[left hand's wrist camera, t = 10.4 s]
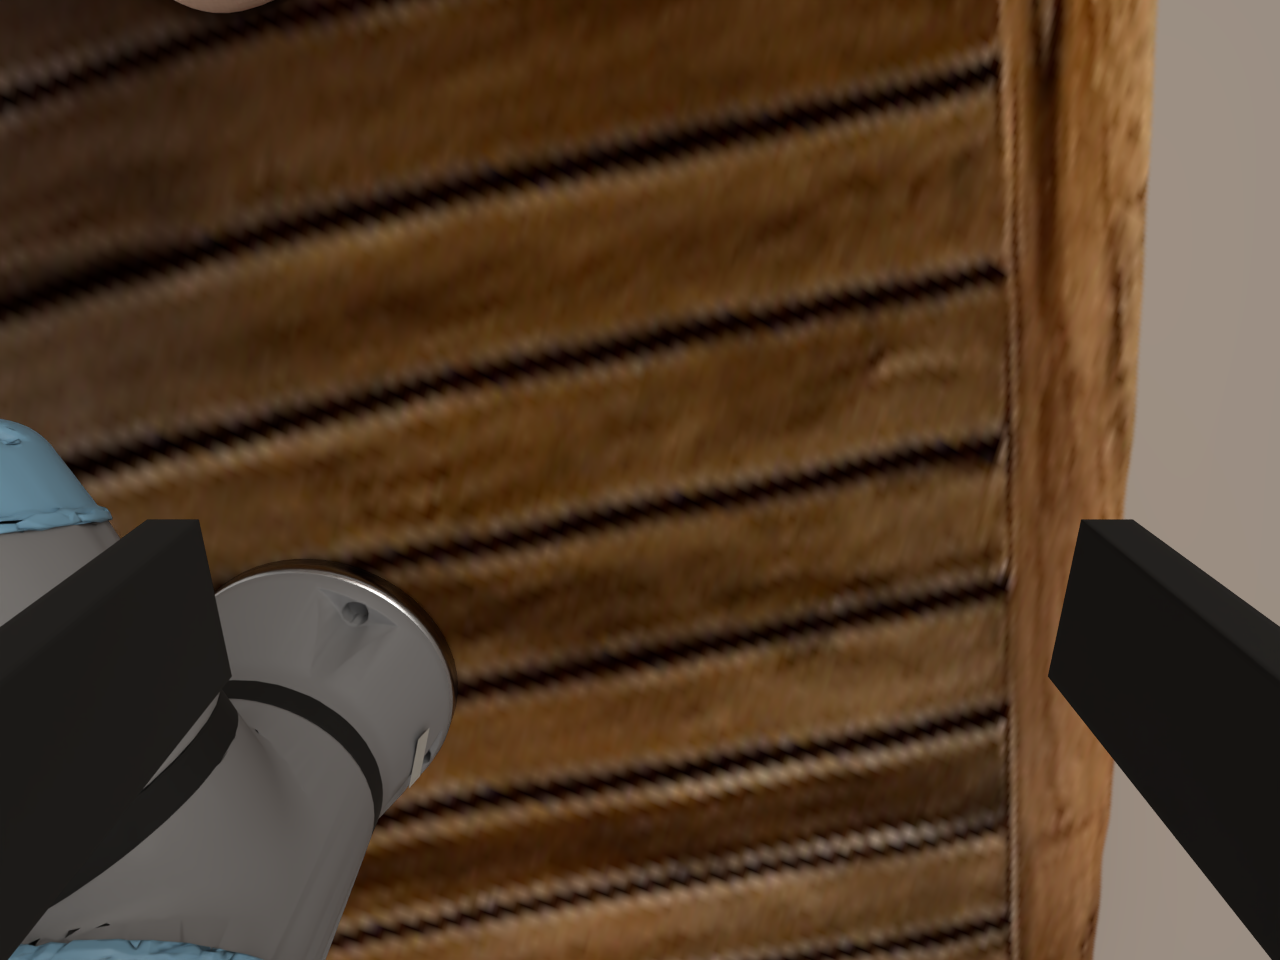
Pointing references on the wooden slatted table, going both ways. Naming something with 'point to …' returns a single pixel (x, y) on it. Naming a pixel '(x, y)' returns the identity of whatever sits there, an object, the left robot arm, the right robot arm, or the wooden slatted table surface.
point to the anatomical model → (223, 5)
